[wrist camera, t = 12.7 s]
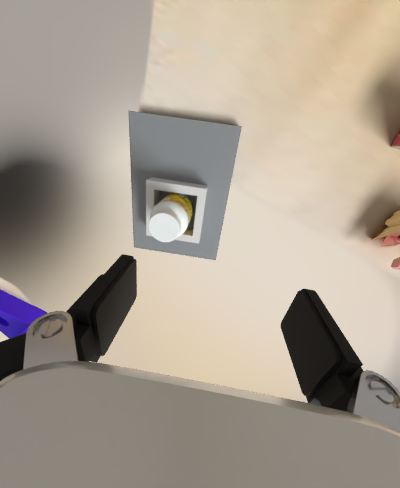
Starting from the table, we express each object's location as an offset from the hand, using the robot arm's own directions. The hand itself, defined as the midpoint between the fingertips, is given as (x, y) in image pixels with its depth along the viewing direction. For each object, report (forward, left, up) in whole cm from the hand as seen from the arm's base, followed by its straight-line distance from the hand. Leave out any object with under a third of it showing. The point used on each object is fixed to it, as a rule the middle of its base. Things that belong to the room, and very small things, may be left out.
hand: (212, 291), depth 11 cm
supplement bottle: (+2, -6, -23) cm, 24 cm away
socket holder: (0, -6, -24) cm, 25 cm away
